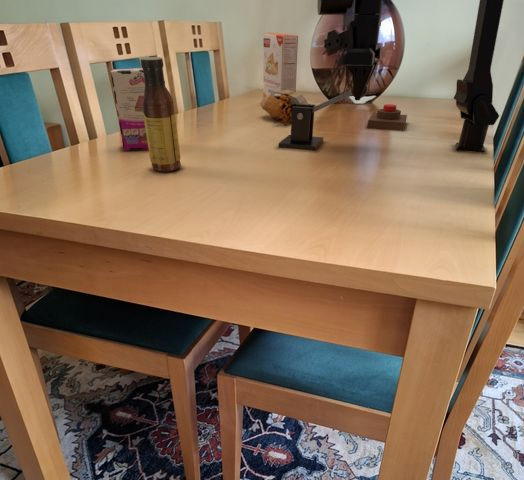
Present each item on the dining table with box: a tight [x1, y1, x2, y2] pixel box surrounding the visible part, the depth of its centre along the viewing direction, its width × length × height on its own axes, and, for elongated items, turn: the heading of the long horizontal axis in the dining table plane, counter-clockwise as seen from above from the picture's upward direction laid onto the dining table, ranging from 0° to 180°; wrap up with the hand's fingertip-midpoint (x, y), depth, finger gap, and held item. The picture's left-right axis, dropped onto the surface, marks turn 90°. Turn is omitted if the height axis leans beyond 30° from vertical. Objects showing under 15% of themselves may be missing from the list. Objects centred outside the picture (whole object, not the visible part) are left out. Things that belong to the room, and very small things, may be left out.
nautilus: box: [260, 89, 309, 126], centre depth 137 cm, size 8×22×15 cm
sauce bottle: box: [140, 56, 181, 173], centre depth 91 cm, size 7×6×20 cm
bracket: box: [278, 103, 324, 152], centre depth 112 cm, size 9×10×9 cm
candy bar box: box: [109, 67, 149, 152], centre depth 107 cm, size 11×5×16 cm, turn 105°
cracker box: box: [262, 32, 299, 100], centre depth 153 cm, size 14×6×21 cm, turn 25°
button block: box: [366, 108, 408, 132], centre depth 134 cm, size 12×10×4 cm
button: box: [382, 103, 397, 112], centre depth 132 cm, size 4×4×2 cm
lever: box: [306, 84, 368, 117], centre depth 107 cm, size 17×4×4 cm, turn 72°
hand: (358, 98), depth 105 cm, fingers closed on lever, 3 cm apart
